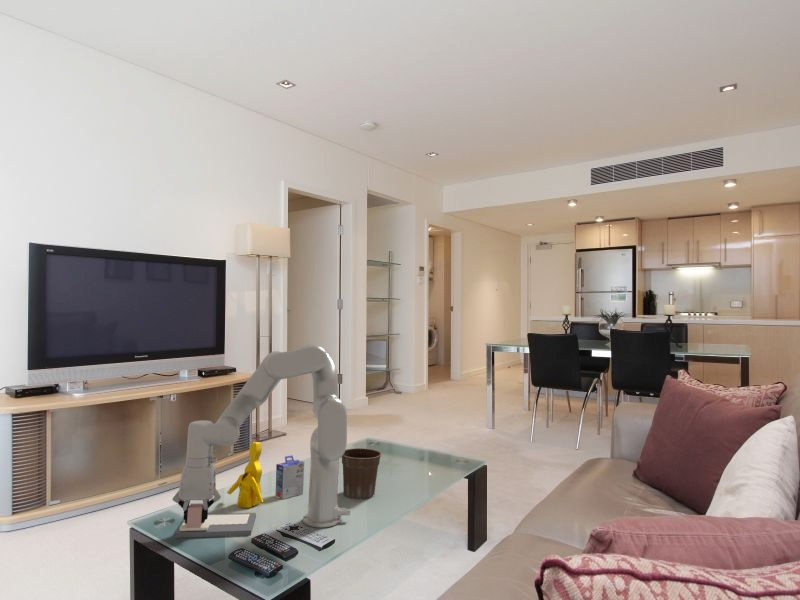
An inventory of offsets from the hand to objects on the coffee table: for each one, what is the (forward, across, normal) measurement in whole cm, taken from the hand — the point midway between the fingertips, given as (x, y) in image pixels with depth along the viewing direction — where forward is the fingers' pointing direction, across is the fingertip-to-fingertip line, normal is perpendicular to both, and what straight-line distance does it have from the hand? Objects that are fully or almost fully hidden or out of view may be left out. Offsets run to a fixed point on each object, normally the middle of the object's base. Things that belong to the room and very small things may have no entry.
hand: (195, 521), depth 151 cm
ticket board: (+4, -6, -4) cm, 8 cm away
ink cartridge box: (+4, -27, -34) cm, 43 cm away
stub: (+2, 0, 0) cm, 2 cm away
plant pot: (+4, -54, -32) cm, 63 cm away
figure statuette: (+4, -13, -24) cm, 27 cm away
